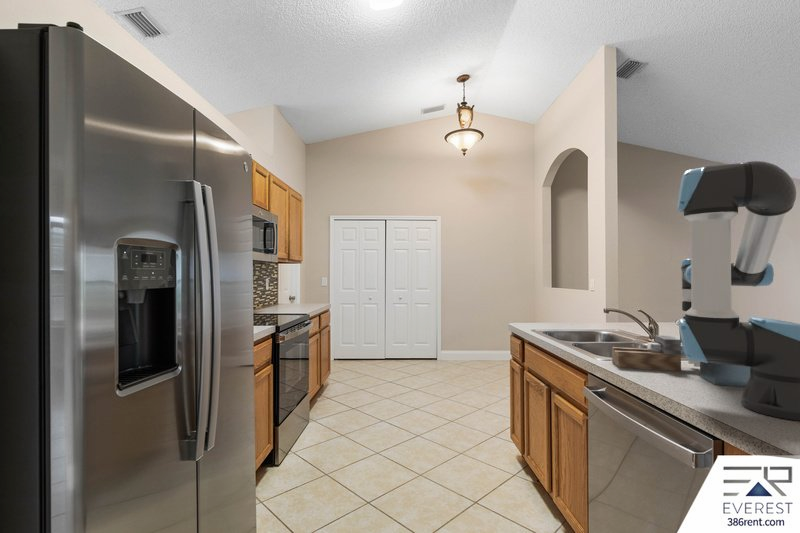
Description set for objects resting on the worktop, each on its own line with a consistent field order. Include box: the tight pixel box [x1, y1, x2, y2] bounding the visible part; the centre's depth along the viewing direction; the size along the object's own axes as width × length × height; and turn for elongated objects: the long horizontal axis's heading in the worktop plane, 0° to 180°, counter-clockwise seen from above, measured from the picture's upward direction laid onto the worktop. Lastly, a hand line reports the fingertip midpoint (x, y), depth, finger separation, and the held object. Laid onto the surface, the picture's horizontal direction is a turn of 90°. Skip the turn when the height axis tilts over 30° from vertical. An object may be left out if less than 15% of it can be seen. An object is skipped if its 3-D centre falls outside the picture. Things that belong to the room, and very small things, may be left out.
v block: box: [699, 362, 750, 388], centre depth 122 cm, size 10×10×7 cm
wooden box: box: [611, 334, 682, 372], centre depth 142 cm, size 20×9×11 cm, turn 74°
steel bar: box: [646, 342, 686, 357], centre depth 139 cm, size 4×16×4 cm, turn 74°
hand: (695, 364), depth 137 cm, fingers closed on steel bar, 4 cm apart
